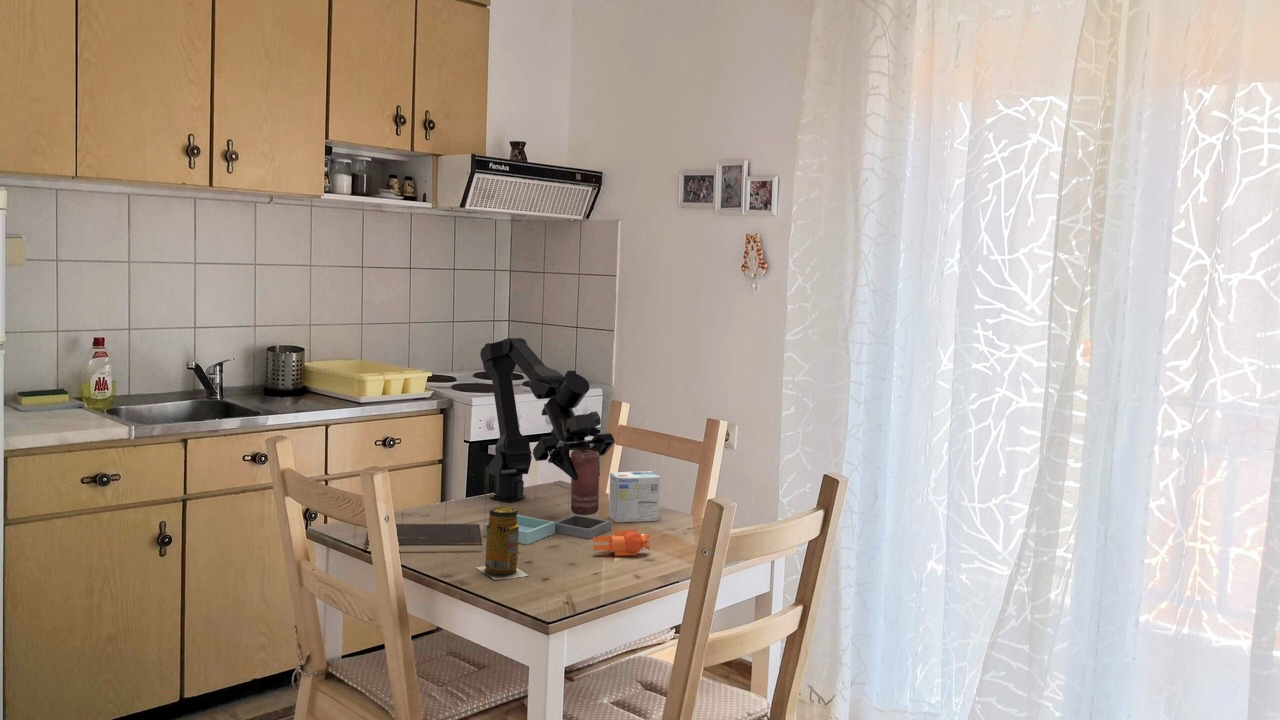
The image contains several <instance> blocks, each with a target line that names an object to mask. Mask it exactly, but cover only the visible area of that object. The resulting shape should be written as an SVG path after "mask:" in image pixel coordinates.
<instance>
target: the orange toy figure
mask: <svg viewBox="0 0 1280 720" xmlns="http://www.w3.org/2000/svg"><path fill="white" fill-rule="evenodd" d="M649 538H650V534H649V533H647V534H646V533H645V534H644V533H641V534H640V533H639V532H637V529H636V530H635V529H632V530H631V529H630V530H629V529H627V530H626V529H625V530H614V535H610V536H596V537H593V538H592V540H593V543H605V542H607V543H608V544H602V545H601V544H599V545H598V544H595V545H593V547H592V551H609V552H610V553H614V556H615V557H618V556H619V557H622V556H623V557H624V556H628V557H629V555H630V556H637V554H638V553H639V552H641V550H642V551H645V550H648V551H649V550H650V549H651V547H650V546H649Z"/></svg>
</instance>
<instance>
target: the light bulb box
mask: <svg viewBox="0 0 1280 720" xmlns="http://www.w3.org/2000/svg"><path fill="white" fill-rule="evenodd" d="M660 480H661V477H660V475H658V474H656V473H655V472H653V471H652V470H648V471H647V470H645V471H617V472H616V471H615V472H614V471H610V472H609V493H608V494H609V499H608V517H609V518H610V519H613V520H612V521H614V523H616V522H617V523H633V522H635V523H637V522H638V523H639V522H658V521H659V508H660V507H659V504H660V502H659V501H660V484H661V483H660Z"/></svg>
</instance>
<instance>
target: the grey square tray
mask: <svg viewBox="0 0 1280 720" xmlns="http://www.w3.org/2000/svg"><path fill="white" fill-rule="evenodd" d="M555 522H556V523H555V532H556V533H555V534H560V533H561V535H565V534H566V536H570V535H571V537H576V538H581V539H586V538H587V540H591V539H593V537H595V536H596V537H599V536H600V535H603V534H604V533H607V532H610V531H612V520H607V519H601V518H596V517H590V516H587V515H578V514H575V513H573V514H572V515H569V516H567V517H565V518H564V517H563V518H561V519H559V520H556V521H555ZM576 524H577V525H576ZM582 525H583V526H582ZM581 526H582V527H581ZM587 526H588V528H587ZM602 533H603V534H602Z"/></svg>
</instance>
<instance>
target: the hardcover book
mask: <svg viewBox="0 0 1280 720" xmlns="http://www.w3.org/2000/svg"><path fill="white" fill-rule="evenodd" d="M395 524H396V527H397V536H398V542H399V547H400V552H399V553H405V552H406V553H415V552H416V553H417V552H419V553H421V552H423V553H425V552H427V553H429V552H430V553H432V552H433V553H435V552H436V553H437V552H440V553H442V552H444V553H445V552H449V553H450V552H481V551H482V546H483V540H482V534H481V532H482V531H481V526H480V523H395ZM364 546H365V547H366V549H367V547H368V549H369V540H368V533H367V535H366V539H365V544H364Z"/></svg>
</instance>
